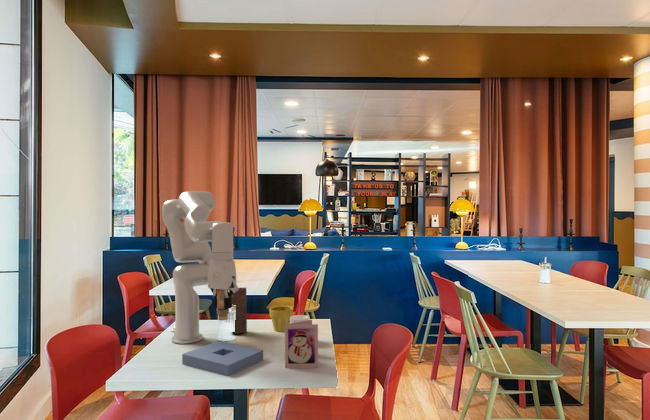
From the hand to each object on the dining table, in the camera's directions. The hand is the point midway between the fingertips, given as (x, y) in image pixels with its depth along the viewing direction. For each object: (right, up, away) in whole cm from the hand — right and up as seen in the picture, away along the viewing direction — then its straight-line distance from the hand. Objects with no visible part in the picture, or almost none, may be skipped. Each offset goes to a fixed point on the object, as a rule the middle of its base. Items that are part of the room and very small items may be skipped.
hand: (223, 307), depth 159 cm
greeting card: (+28, -20, -3) cm, 35 cm away
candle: (-2, -20, +36) cm, 41 cm away
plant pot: (+17, -20, +42) cm, 49 cm away
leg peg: (0, -4, 0) cm, 4 cm away
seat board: (0, -20, 0) cm, 20 cm away
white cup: (+26, -20, +24) cm, 41 cm away
